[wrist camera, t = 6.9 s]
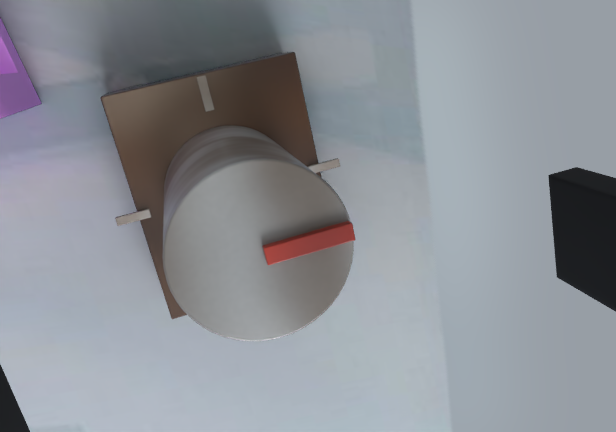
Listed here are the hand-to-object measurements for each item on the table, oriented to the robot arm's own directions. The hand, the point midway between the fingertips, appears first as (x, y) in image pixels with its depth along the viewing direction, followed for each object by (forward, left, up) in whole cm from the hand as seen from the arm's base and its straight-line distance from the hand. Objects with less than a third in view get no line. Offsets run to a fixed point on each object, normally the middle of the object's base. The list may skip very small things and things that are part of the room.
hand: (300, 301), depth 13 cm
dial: (0, 0, -12) cm, 12 cm away
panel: (0, 0, -15) cm, 15 cm away
